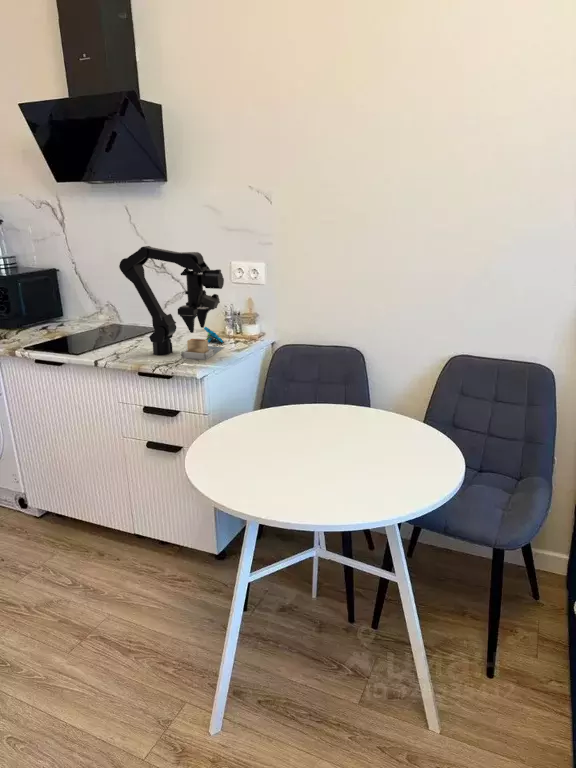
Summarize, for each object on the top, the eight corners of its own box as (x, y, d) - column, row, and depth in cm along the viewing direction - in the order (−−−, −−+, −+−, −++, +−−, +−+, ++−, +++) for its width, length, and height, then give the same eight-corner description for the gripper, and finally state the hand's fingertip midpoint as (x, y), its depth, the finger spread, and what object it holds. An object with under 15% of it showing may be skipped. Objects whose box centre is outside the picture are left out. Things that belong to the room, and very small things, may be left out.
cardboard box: (188, 356, 207) (187, 340, 205) (192, 353, 210) (191, 337, 208) (204, 357, 205) (203, 341, 203) (208, 355, 209) (207, 339, 207)
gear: (227, 341, 226) (209, 326, 222) (218, 352, 225) (199, 337, 222) (220, 339, 236) (202, 324, 232) (211, 350, 236) (194, 335, 232)
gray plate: (205, 362, 202) (204, 354, 201) (180, 360, 204) (179, 352, 204) (225, 349, 220) (225, 342, 219) (202, 348, 223) (202, 340, 222)
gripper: (205, 292, 189) (207, 336, 194) (225, 285, 206) (226, 326, 211) (175, 291, 192) (178, 335, 197) (198, 284, 209) (200, 324, 214)
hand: (197, 330), depth 204 cm, fingers open, 9 cm apart
